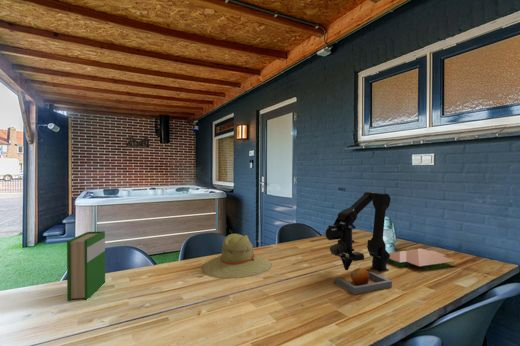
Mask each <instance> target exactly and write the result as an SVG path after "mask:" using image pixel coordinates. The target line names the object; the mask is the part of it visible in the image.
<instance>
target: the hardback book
mask: <svg viewBox="0 0 520 346" xmlns="http://www.w3.org/2000/svg"><path fill="white" fill-rule="evenodd" d="M66 275H67V276H66V277H67V280H66V283H67V284H66V285H67V286H66V287H67V288H66V291H67V292H66V294H67V296H66V297H67V299H66V300H67V301H66V302H70V300H71V299H72V300H73V299H84V300H85V301H88V300H89V299H90V298H91V297H92V296H93V295H94V294H96V293H97V292H98V291H99V290H100V289H101V288H102V287H103V286H104V285H105V284H104V283H106V233H105V230H104V231H103V230H102V231H97V230H96V231H86V232H84V233H82V234H80V235H78V236H75V237H71V239H70V238H69V239H68V240H66ZM103 284H104V285H103ZM102 285H103V286H102ZM101 286H102V287H101ZM100 287H101V288H100ZM99 288H100V289H99ZM88 298H89V299H88ZM87 299H88V300H87ZM72 300H71V301H72Z"/></svg>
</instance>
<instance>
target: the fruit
mask: <svg viewBox="0 0 520 346" xmlns="http://www.w3.org/2000/svg"><path fill="white" fill-rule="evenodd" d="M368 272H369V271H368V270H367V269H366V268H364V267H358V268H355V269H354V270H352V271H351V273H350V278H351V280H352V282H353V283H354V284H356V286H360V285H366V284H369V281H370V279H371V278H370V276H369V273H368Z"/></svg>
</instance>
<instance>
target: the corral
mask: <svg viewBox="0 0 520 346" xmlns="http://www.w3.org/2000/svg"><path fill="white" fill-rule="evenodd" d="M368 273H369V276H370V278H369V279H371V280H373V281H375V282H372V283H368V284H366V285H354V284H352V283H350V282H348V281H346V280H344V279H342V278H341V277H338V276H334V283H335V284H336V285H338V286H340V287H342V288H343V289H345V290H346V291H348V292H350V293H352V294H354V295H358V294H363V293H368V292H373V291H374V292H375V291H379V290H383V289H387V288H388V289H389V288H392V287H393V281H392V280H390V279H387V278H385V277H383V276H381V275H379V274H377V273H374V272H372V271H368Z"/></svg>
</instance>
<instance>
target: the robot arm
mask: <svg viewBox="0 0 520 346" xmlns="http://www.w3.org/2000/svg"><path fill="white" fill-rule="evenodd" d="M391 199H392V198H391V196H390V194H389V193H384V192H382V193H381V192H374V191H373V192H372V191H365V192H363V194H362V196H360V198H359V199H357V200H356V201H355V202H354V203H353V204H352V205H351V206H349V207H347V208H345V209H343V210H341V211H339V213H338V214H337V217H336V219H335V221H334V223H333V224H332V225H330V224H329V225H328V227H327V229H326V230H325V237H326V239H327V240H328V241H335V240H336V241H337V243H335V244H333V245H331V246H329V252H330V254H331V255H334V256H337V257H339V258H340V259H341V262H342V266H343V269H344V270H345V271H348V270H349V268H350V267H351V265H352V262H353V261H354V262H358V261H359V262H360V261H364V260H365V254H364V253H362V252H360V251H355V249H354V248H353V243H354V244H355V240H354V239H353V229H356V228H357V227H356V226H355V225H354V224H355V221H356V220H357V218H358V216H359V215H358V214H360V213H361V212H362V211H363V210H364V209H365V208H366V207H367V206H368V205H369V204H370V203H372V205H373V208H374V218H373V219H374V220H373V229H372V236H371V238H370V239H367V245H366V248H367V251H368V253H369V256H370V257H372V260H371V265H372V266H370V269H371V270H374V271H376V272H379V273H380V272H386V271H390V269H389V268H387V261H388V259H389V258H390V254H389V253H390V252H388V251H387V249H386V247H387V246H386V242H385V241H384V231H385V230H384V229H385V220H386V211H388V208H389V207H390V204H391Z"/></svg>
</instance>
